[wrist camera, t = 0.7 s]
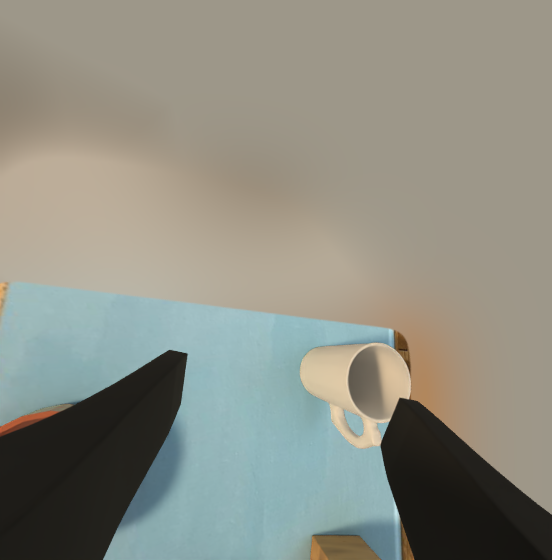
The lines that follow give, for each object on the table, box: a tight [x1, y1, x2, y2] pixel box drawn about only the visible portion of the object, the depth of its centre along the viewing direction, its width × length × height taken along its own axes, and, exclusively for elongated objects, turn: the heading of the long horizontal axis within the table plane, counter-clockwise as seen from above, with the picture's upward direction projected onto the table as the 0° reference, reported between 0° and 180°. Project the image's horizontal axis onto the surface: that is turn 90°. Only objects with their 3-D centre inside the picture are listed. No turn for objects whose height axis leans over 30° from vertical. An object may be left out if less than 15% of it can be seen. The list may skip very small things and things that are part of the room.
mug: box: [300, 343, 411, 449], centre depth 31 cm, size 10×7×12 cm, turn 1°
